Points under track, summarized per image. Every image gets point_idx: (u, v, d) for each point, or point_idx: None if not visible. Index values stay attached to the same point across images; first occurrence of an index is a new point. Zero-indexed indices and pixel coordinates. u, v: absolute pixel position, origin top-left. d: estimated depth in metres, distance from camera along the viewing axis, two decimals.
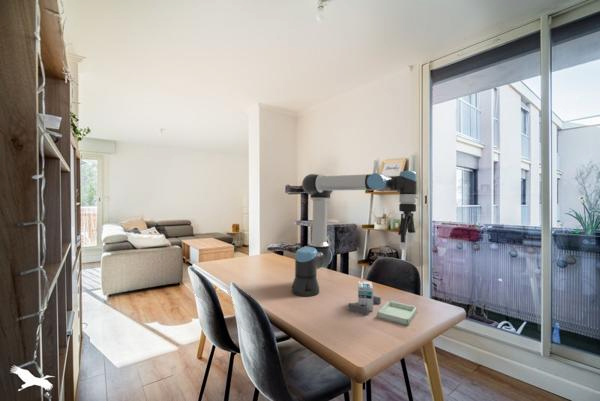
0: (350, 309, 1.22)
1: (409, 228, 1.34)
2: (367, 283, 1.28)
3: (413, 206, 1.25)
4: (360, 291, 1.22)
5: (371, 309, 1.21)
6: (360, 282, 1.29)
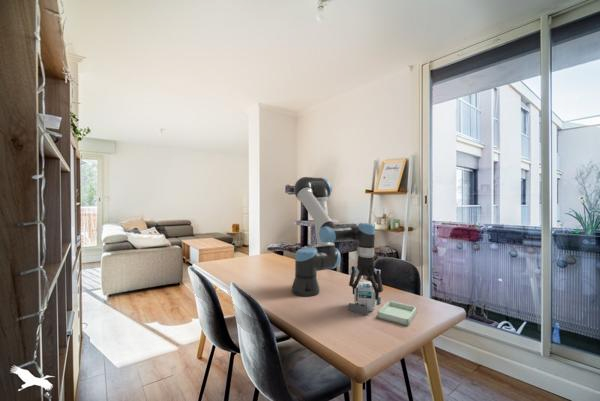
0: (350, 309, 1.22)
1: None
2: (367, 283, 1.28)
3: (359, 259, 1.25)
4: (360, 291, 1.22)
5: (371, 309, 1.21)
6: (360, 282, 1.29)
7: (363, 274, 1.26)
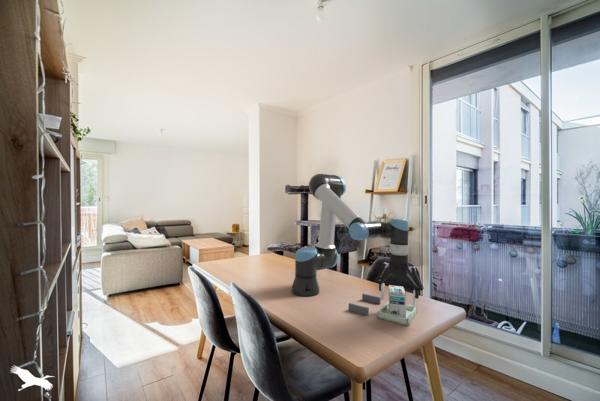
0: (350, 309, 1.22)
1: None
2: (399, 288, 1.19)
3: (392, 257, 1.17)
4: (392, 296, 1.14)
5: (404, 316, 1.12)
6: (391, 287, 1.21)
7: (396, 273, 1.18)
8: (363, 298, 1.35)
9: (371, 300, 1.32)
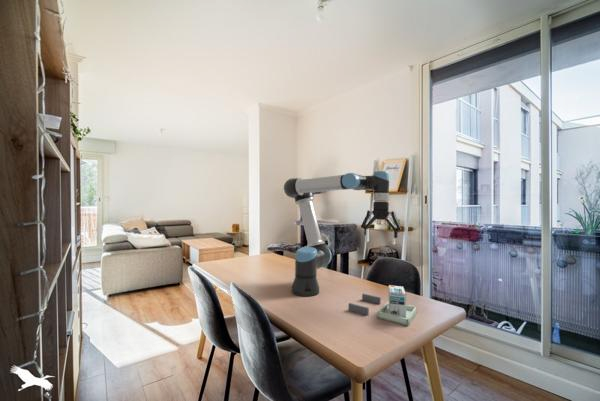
0: (350, 309, 1.22)
1: None
2: (399, 288, 1.19)
3: (374, 204, 1.36)
4: (392, 296, 1.14)
5: (404, 316, 1.12)
6: (391, 287, 1.21)
7: (378, 218, 1.37)
8: (363, 298, 1.35)
9: (371, 300, 1.32)
